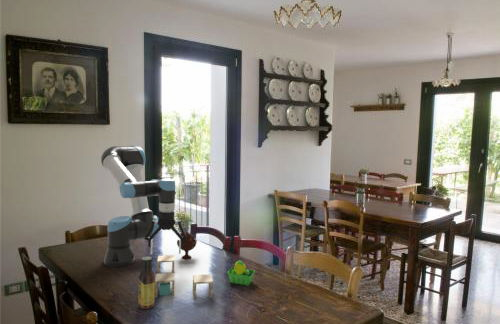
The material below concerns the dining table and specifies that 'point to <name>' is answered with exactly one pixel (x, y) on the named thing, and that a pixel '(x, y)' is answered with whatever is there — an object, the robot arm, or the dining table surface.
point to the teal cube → (164, 288)
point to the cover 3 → (202, 280)
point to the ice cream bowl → (187, 245)
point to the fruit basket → (240, 274)
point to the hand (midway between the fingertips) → (165, 253)
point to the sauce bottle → (146, 284)
